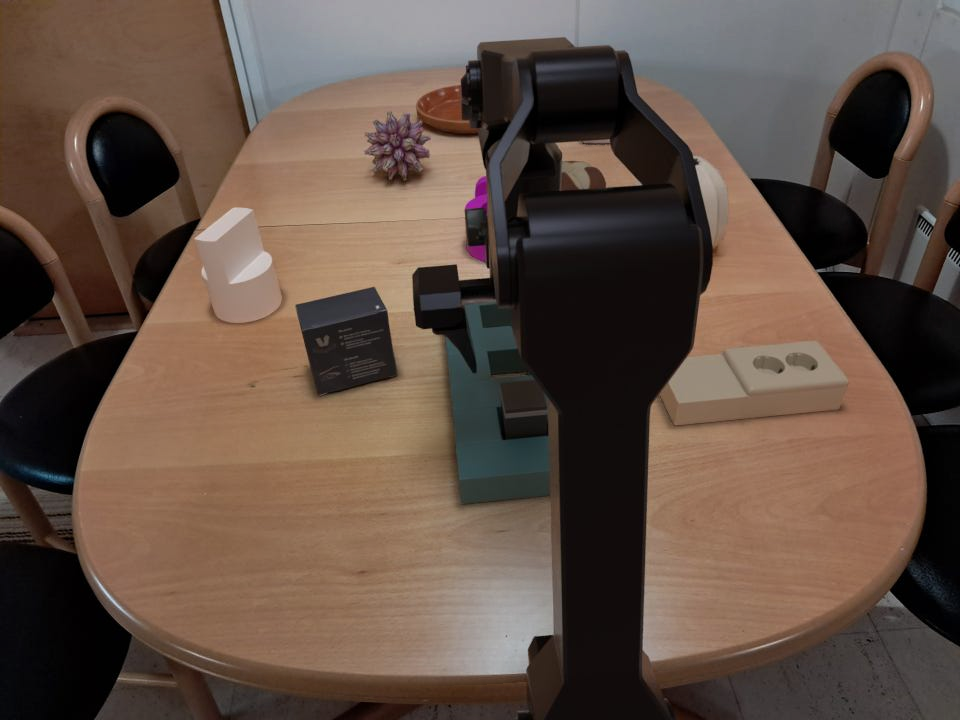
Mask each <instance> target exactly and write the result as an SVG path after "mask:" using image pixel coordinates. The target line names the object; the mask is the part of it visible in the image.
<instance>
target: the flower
mask: <svg viewBox="0 0 960 720" xmlns="http://www.w3.org/2000/svg"><path fill="white" fill-rule="evenodd" d="M410 118H411V113H410V112H409V113H408V112H403V113H402V115H401V117H400V118H399V119H397V117H396V116H395V115H394V114H393V112H392V109H391V110H387V111H386V119H385V123H384V122H381V121H379V120H378V119H377V118H376V119H374V120H373V121H372V124H373V125H374V127H375V131H376V132H375V131H374V132H367V131H365V132H364V133H363V134H364V137H366V142H367V143H370V145H371V146H369V147H368V148H367V149H365V150H363V154H364V156H365V155H368V156H373V159H372V161H371V164H373V165H374V168H373V171H374V174H376V173H378V172H379V171H381V170H382V171H384V172H387V177H388V180H390V181H392V180H393V177H394V176H395V175H396V173H397V172H398V175H400V176H401V178H402V180H403V182H405V181H408V174H409V170H410V169H411V170H413V171H415V172H417V173H422V171H423V169H424V168H423V167H422V165H421V161H420V160H422V159H425V158H426V159H430V158H431V153H430V150H429V149H427V148H426V147H424V145H425V144H426V143H427V142H428V141H430V140H432V139H431V135H423V133H424V132H425V129H424V127H423V126H422V125H423V123H424V122H423V121H422V120H419V121H418V122H415V123H414V122H411V119H410ZM421 126H422V127H421Z"/></svg>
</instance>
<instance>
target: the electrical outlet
mask: <svg viewBox="0 0 960 720" xmlns="http://www.w3.org/2000/svg"><path fill="white" fill-rule="evenodd" d="M849 384H850V380H849V377H848V376H847V375H846V374H845V373H844V372H843V371H842V369H841V368H840V367H839V365H838V364H837V363H836V362H835V360H834V359H833V358H832V357H831V355H830V354H829V353H828V352H827V351H826V349H825V348H824V347H823V346H822V344H821V343H820V342H819V341H818V340H803V341H794V342H792V341H791V342H783V343H781V342H780V343H773V344H772V343H771V344H761V345H749V346H740V347H739V346H738V347H729V348H725V349H724V350H723V351H722V353H717V354H716V353H715V354H706V355H696V356H687V358H686V359H685V360H684V362H683V363H682V364H681V366H680V367H679V368H678V370H677V371H676V372H675V374H674V375H673V376H672V378H671V379H670V381H669V382H668V383H667V385H666V386H665V387H664V389H663V390H662V391H661V393H660V394H659V397H660V398H661V401H662V403H663V405H664V407H665V409H666V412H667V413H668V415H669V416H668V417H669V418H670V420H671V422H672V425H673V426H685V425H695V424H704V423H714V422H715V423H716V422H725V421H735V420H736V421H737V420H746V419H755V418H766V417H774V416H787V415H795V414H796V415H797V414H805V413H806V414H807V413H815V412H827V411H838V410H840V408H841V405H842V402H843V401H844V400H843V399H844V397H845V395H846V392H847V389H848V387H849Z"/></svg>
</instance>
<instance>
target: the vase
mask: <svg viewBox="0 0 960 720" xmlns="http://www.w3.org/2000/svg"><path fill="white" fill-rule="evenodd" d="M693 158H694V163H695V167H696V171H697V175H698V180H699V184H700V188H701V192H702V197H703V201H704V205H705V209H706V214H707V218H708V222H709V226H710V231H711V238H712V245H713V250H714V249H715V248H716V247H717V246H718V245H719V244H720V243H722V242H723V241H724V239H725V236H726V235H727V231H728V226H729V217H730V216H729V215H730V199H729V191H728V187H727V183H726V181H725V179H724V176H723V173H722V172H721V171H720V170H719V169H718V168H717V167H716V166H715V165H713V164H712V163H711V162H710V161H709V160H706V159H705V158H703V157H701V156H699V155H698V156H697V155H695V154H693ZM636 180H637V179H636ZM638 185H642V184H641V183H640V182H639V181H638V180H637V181H636V182H635V184H634V186H638Z"/></svg>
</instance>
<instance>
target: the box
mask: <svg viewBox="0 0 960 720" xmlns="http://www.w3.org/2000/svg"><path fill="white" fill-rule="evenodd" d="M294 306H295V311H296V315H297V318H298V319H297V320H298V323H299V327H300V330H301V335H302V339H303V344H304V348H305V351H306V355H307V359H308V363H309V368H310V372H311V375H312V379H313V382H314V383H313V384H314V387H315V390H316V392H317V396H319V397H323V396H326V395H327V394H328V393H333V392H336V391H338V392H339V391H342V390H344V389H348V388H352V387H356V386H360V385H364V384H367V383H372V382H374V381H380V380H383V379H387V378H393V377H396V376H397V375H398V370H397V369H398V368H397V364H396V358H395V353H394V347H393V341H392V335H391V334H392V333H391V327H390V320H389V312H388V309H387V307H386V305H385V303H384V302H383V299H382V298H381V296H380V294H379V292H378V291H377V288H376V286H371V287H366V288H363V289H358V290H353V291H349V292H345V293H341V294H340V293H339V294H336V295H332V296H328V297H322V298H319V299H314V300H310V301H306V302H301V303H296V304H295V305H294Z"/></svg>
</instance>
